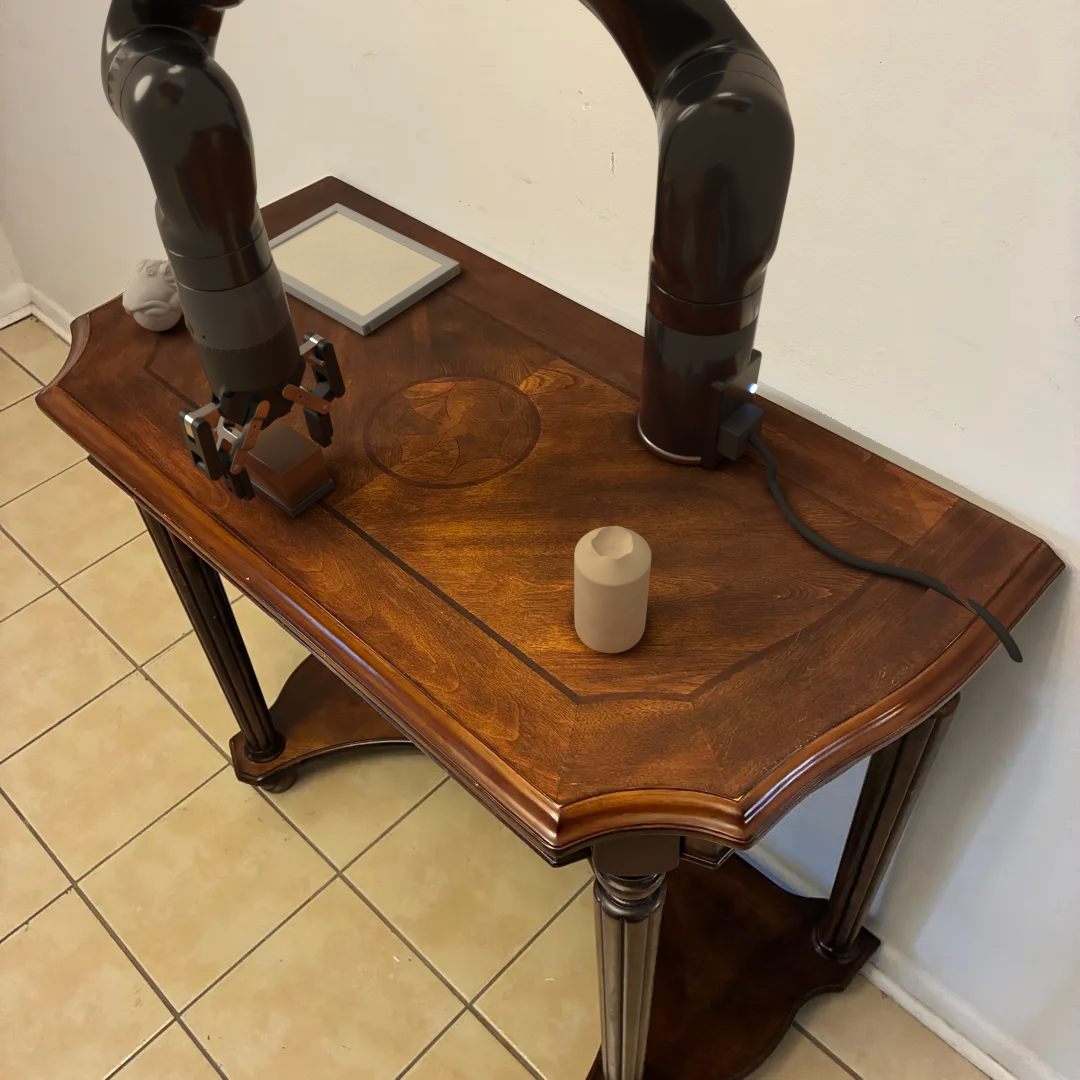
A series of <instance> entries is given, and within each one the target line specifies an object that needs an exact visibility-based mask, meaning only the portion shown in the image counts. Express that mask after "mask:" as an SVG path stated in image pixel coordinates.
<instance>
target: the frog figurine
mask: <svg viewBox="0 0 1080 1080" xmlns="http://www.w3.org/2000/svg"><path fill="white" fill-rule="evenodd" d="M135 265H136V268H134V270H133V271H132V273H131V274H130V276H129V277H128V279H127V280H126V282H125V285H124V291H123V293H122V307H123V308H124V309H125V312H126V314H127V315H129V316H132V317H133V318H134V320H135V321H136V322H137V324H139V326H141V327H143V328H145V329H146V330H150V331H154V332H163V331H167V330H169V329H172V328H173V327H174V326H175V325H176V324H178V322H179V320H180V318H181V316H182V314H183V311H182V308H181V305H180V302H179V298H178V293H177V287H176V282H175V278H174V274H173V271H172V269H171V266H170V263H169V260H165V259H164V260H163V259H149V258H142V259H139V260H138V261H137V262H136V264H135Z"/></svg>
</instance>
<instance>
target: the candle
mask: <svg viewBox="0 0 1080 1080" xmlns="http://www.w3.org/2000/svg"><path fill="white" fill-rule="evenodd" d="M573 553H574V555H573V556H574V557H573V563H574V565H573V568H574V569H573V573H574V574H573V578H574V579H573V581H574V582H573V584H574V586H573V588H574V589H573V592H574V593H573V597H574V598H573V599H574V600H573V601H574V604H573V605H574V606H573V608H574V609H573V610H574V614H573V615H574V619H573V620H574V628H575V632H576V634H577V636H578V638H579V639H580V641H581V642H582V643H583V644H584V645H585V646H587V647H588V648H590V649H591V650H594V651H595V652H598V653H605V654H618V653H622V652H626V651H628V650H630V649H631V648H633V647H634V646H635V645H637V644H638V643H639V641H641V639H642V637H643V635H644V632H645V630H646V629H645V628H646V622H647V611H648V600H649V590H650V581H651V580H650V578H651V567H652V551H651V547H650V545H649V544H648V542H647V541H646V540H645V539H644V537H643V536H641V535H640V534H639V533H638V532H635V531H634V530H632V529H629V528H626V527H622V526H620V525H613V526H612V525H611V526H602V527H598V528H595V529H593V530H591V531H589V532H587V533H585V534H584V535H583V536H582V537H580V539H579V540H578V542H577V543H576V546H575V549H574V552H573Z"/></svg>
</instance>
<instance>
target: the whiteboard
mask: <svg viewBox="0 0 1080 1080" xmlns="http://www.w3.org/2000/svg"><path fill="white" fill-rule="evenodd" d="M268 241H269V245H270V248H271V253H272V256H273V259H274V262H275V264H276V266H277V269H278V271H279V273H280V276H281V279H282V282H283V286H284V289H285V293H288V294H290V295H291V296H293V297H294V298H297V300H298V299H299V301H302V302H304V303H305V304H307V305H309V306H311V307H312V308H314V309H316V310H317V311H320V312H321V313H323V314H325V315H326V316H328V317H329V318H332V319H333V320H335V321H336V322H338V323H340V324H342V325H344V326H346V327H347V328H349V329H351V330H353V331H354V332H356V333H358V334H359V335H362V336H364V337H365V336H367V335H368V334H370V333H371V332H373V331H374V330H377V329H378V328H379V327H380V326H382V325H383V324H385V323H387V322H388V321H390V320H391V319H393V318H394V317H396V316H397V315H399V314H401V313H402V312H403V311H405V310H407V309H408V308H410V307H412V306H413V305H414V304H415V303H417V302H419V301H420V300H422V299H423V298H425V297H426V296H428V295H429V294H431V293H432V292H434V291H435V290H437V289H438V288H440V287H441V286H443V285H444V284H446V283H447V282H449V281H450V280H452V279H453V278H455V277H457V276H458V275H459V274H461V265H460V262H459V261H458V260H454V259H452V258H451V257H449V256H446V255H444V254H442V253H440V252H438V251H437V250H434V249H432V248H430V247H428V246H427V245H424V244H422V243H420V242H418V241H416V240H414V239H413V238H409V237H408V236H406V235H404V234H402V233H399V232H398V231H395V230H394V229H392V228H389V227H387V226H386V225H383V224H381V223H380V222H377V221H375V220H373V219H371V218H369V217H368V216H365V215H363V214H362V213H359V212H356V211H355V210H353V209H351V208H349V207H346V206H345V205H343V204H341V203H338V202H336V203H334V204H333V205H330V206H329V207H327V208H326V209H324V210H321V211H320V212H318V213H316V214H314V215H313V216H311V217H309V218H308V219H306V220H304V221H302V222H301V223H298V224H296V225H295V226H293V227H291V228H290V229H288V230H286V231H285V232H283V233H281V234H279V235H277V236H275V237H274V238H272V239H270V240H268Z"/></svg>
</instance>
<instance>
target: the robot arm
mask: <svg viewBox="0 0 1080 1080" xmlns="http://www.w3.org/2000/svg"><path fill="white" fill-rule="evenodd" d="M245 1H246V0H111V1H110V4H109V7H108V11H107V15H106V20H105V24H104V28H103V32H102V38H101V39H102V41H101V50H100V79H101V85H102V89H103V92H104V96H105V99H106V102H107V103H108V106H109V107H110V109H111V110H112V112H113V113H114V115H115V116H116V117H117V118H118V120H119V121H120V123H121V124H122V125H123V127H124V128H125V129H126V131H127V132H128V133H129V135H130V137H131V138H132V139H133V140H134V142H135V144H136V146H137V149H138V151H139V153H140V155H141V157H142V161H143V163H144V165H145V168H146V170H147V173H148V176H149V178H150V181H151V182H150V183H151V184H152V188H153V190H154V193H155V197H156V199H155V204H154V215H155V216H154V217H155V221H156V226H157V230H158V233H159V236H160V240H161V243H162V245H163V249H164V251H165V254H166V257H167V259H168V260H167V261H169V263H170V266H171V269H172V271H173V274H174V278H175V282H176V287H177V293H178V298H179V302H180V305H181V308H182V314H183V317H184V325H185V327H186V329H187V330H188V332H189V334H190V336H191V339H192V342H193V345H194V349H195V350H196V354H197V357H198V359H199V362H200V365H201V369H202V371H203V374H204V376H205V378H206V380H207V382H208V385H209V387H210V399H209V403H207V404H205V405H204V406H202V407H200V408H198V409H197V410H192V409H191V408H189V407H183V408H182V409H180V411H179V412H178V414H177V420H178V422H179V426H180V428H181V433H182V436H183V438H184V442H185V444H186V448H187V451H188V454H189V457H190V460H191V464H192V466H193V467H194V468H196V469H197V470H198V471H199V472H200V473H202V474H204V476H206V477H207V478H208V479H210V480H211V481H213V482H217V481H219V480H220V479H221V478H222V480H223V483H224V485H225V487H226V489H227V490H228V492H230V493H231V494H233V495H234V496H235V497H237V498H238V499H239V500H242V499H244V500H245V501H246V502H248V503H249V502H250V501H252V500H253V499H254V498H256V493H255V490H254V489H253V487H252V484H251V481H250V475H249V472H248V469H247V467H245V466H244V465H245V460H246V457H247V454H248V451H249V450H250V449H253V448H254V447H255V444H256V441H257V437H258V434H259V433H260V432H261V431H263V430H264V429H266V428H267V427H269V426H270V425H272V424H273V423H275V422H276V421H277V419H278V420H279V419H280V418H283V417H285V416H286V415H288V414H290V413H291V412H292V407H293V406H294V405H295V404H298V405H300V406H302V411H303V415H304V419H305V423H306V426H307V431H308V435H309V437H310V439H311V441H312V442H314V443H315V444H317V445H318V446H320V447H321V448H322V449H326V448H328V447H330V446H331V445H332V444H333V441H332V438H333V436H334V426H333V422H332V418H331V414H330V411H331V408H332V402H333V401H334V400H335V399H341V398H342V397H344V396H345V394H346V391H347V390H346V384H345V382H344V378H343V375H342V371H341V368H340V365H339V361H338V358H337V355H336V351H335V347H334V345H333V343H332V342H330V341H328V340H327V339H326V338H324V337H322V336H320V335H319V334H317V333H315V332H314V331H311V330H310V331H307V332H306V333H305V334H304V335H303V338H302V342H303V343H302V344H301V345H299V342H298V337H297V333H296V329H295V326H294V322H293V318H292V314H291V309H290V306H289V301H288V297H287V294H286V293H287V292H286V291H285V289H284V286H283V282H282V279H281V276H280V273H279V271H278V269H277V266H276V264H275V262H274V259H273V256H272V253H271V248H270V245H269V241H270V240H269V236H268V234H267V229H266V226H265V220H264V218H263V215H262V211H261V208H260V206H259V203H258V200H257V199H258V198H257V195H258V180H257V179H258V178H257V167H256V153H255V144H254V138H253V137H254V136H253V132H252V126H251V122H250V119H249V116H248V112H247V109H246V106H245V103H244V99H243V97H242V95H241V93H240V91H239V89H238V87H237V85H236V83H235V82H234V80H233V79H232V77H231V76H230V75H229V74H228V73H227V72H226V70H224V68H223V67H222V66H221V65H220V63H218V62H217V61H216V58H215V57H216V49H217V44H218V40H219V35H220V32H221V28H222V25H223V21H224V18H225V15H226V11H227V10H232V9H234V8H238V7H239V6H240V5H242V4H243V3H244V2H245ZM577 1H578V2H579V3H580V4H582V5H583V7H584V8H585V9H586V10H588V11H589V12H590V13H591V14H592V15H593V16H594V17H595V18H596V19H597V20H598V21H599V22H600V23H601V25H602V26H603V28H604V29H605V30H606V31H607V32H608V34H609V35H610V36H611V38H612V39H613V41H614V43H615V44H616V46H617V47H618V49H619V50H620V52H621V54H622V55H623V57H624V59H625V60H626V62H627V63H628V65H629V67H630V68H631V71H632V72H633V74H634V76H635V78H636V79H637V82H638V84H639V86H640V87H641V89H642V91H643V93H644V95H645V98H646V99H647V101H648V104H649V106H650V108H651V110H652V113H653V116H654V119H655V125H656V135H657V148H658V149H657V150H658V151H657V152H658V155H657V170H656V172H657V173H656V188H655V203H654V216H653V217H654V218H653V233H652V235H651V238H650V243H649V254H648V255H649V256H648V257H649V258H648V274H647V291H646V302H645V315H644V316H645V319H644V331H643V347H642V349H643V350H642V361H641V362H642V363H641V380H640V394H639V412H638V415H637V423H636V424H637V426H636V427H637V429H636V431H637V435H638V438H639V440H640V442H641V443H642V445H643V446H644V447H645V448H646V450H648V451H649V452H650V453H652V454H653V455H654V456H656V457H658V458H660V459H662V460H664V461H667V462H670V463H673V464H678V465H686V466H698V465H699V466H702V467H704V468H706V469H708V470H713V469H714V468H715V467H716V466H717V465H719V464H720V462H721V461H723V459H725V457H726V458H728V459H730V460H731V461H734V462H736V461H737V460H738V459H739V458H740V457H741V456H742V455H743V454H744V453H745V452H746V451H747V450H748V449H749V448H750V447H751V446H752V447H753V449H755V451H757V452H758V453H759V455H761V457H762V458H763V459H764V461H765V463H766V465H767V474H766V481H767V485H768V487H769V490H770V492H771V495H772V497H773V499H774V501H775V502H776V503H777V505H778V506H779V508H780V509H781V511H782V512H783V513H784V515H785V517H786V519H787V520H788V522H789V523H790V524H791V526H792V527H793V528H794V530H796V531H797V532H798V534H800V536H802V537H803V538H804V539H806V541H808V542H810V543H811V544H813V545H814V546H815V547H817V548H818V549H819V550H821V551H823V552H824V553H825V554H827V555H829V556H830V557H832V558H834V559H836V560H837V561H840V562H842V563H844V564H846V565H849V566H851V567H854V568H857V569H861V570H863V571H868V572H873V573H878V574H882V575H886V576H890V577H896V578H899V579H904V580H908V581H911V582H913V583H916V584H920V585H922V586H924V587H927V588H929V589H931V590H933V591H935V592H937V593H939V594H940V595H942V596H944V597H946V598H947V599H949V600H951V601H953V602H955V603H956V604H958V605H960V606H961V607H963V608H965V609H966V610H968V611H969V612H971V613H972V614H973V615H975V616H977V615H976V614H975V613H973V612H972V611H971V610H970V609H968V608H967V607H966V606H965V605H964V604H963V603H962V602H961V601H960V600H958V599H957V598H956V597H955V596H954V595H953V594H952V593H951V592H950V591H949V590H947V587H949V588H951V589H953V590H955V591H957V592H959V591H958V590H956V589H954V588H953V587H950V586H949V585H947V584H945V583H943V582H941V581H940V580H937V579H936V578H934V577H931V576H929V575H926V574H924V573H921V572H918V571H915V570H912V569H908V568H904V567H900V566H895V565H891V564H886V563H882V562H876V561H873V560H868V559H865V558H861V557H859V556H856V555H852V554H850V553H849V552H846V551H844V550H842V549H840V548H838V547H837V546H835V545H833V544H832V543H830V542H829V541H827V540H826V539H824V538H822V537H821V536H820V535H818V534H817V533H815V532H814V531H813V530H811V529H810V528H809V527H807V525H805V524H804V523H803V522H802V521H801V520H800V519H799V518H798V517H797V516H796V515H795V513H794V512H793V510H792V509H791V507H790V506H789V504H788V503H787V501H786V499H785V496H784V495H783V493H782V489H781V488H780V486H779V483H778V481H777V475H778V464H777V461H776V458H775V457H774V455H773V454H772V452H771V451H770V449H769V448H768V447H767V446H766V445H765V444H764V443H763V441H761V439H759V438H760V437H761V436H762V430H763V426H764V420H765V414H766V410H765V409H763V408H761V407H759V406H757V405H754V403H755V398H756V391H757V389H758V381H759V375H760V370H761V365H762V359H763V353H762V352H761V350H758V349H757V348H755V341H756V336H757V329H758V323H759V317H760V313H761V307H762V305H761V304H762V301H763V295H764V289H765V284H766V278H767V272H768V267H769V264H770V262H771V260H772V258H773V257H774V255H775V252H776V251H777V246H778V243H779V238H780V234H781V230H782V224H783V219H784V214H785V209H786V204H787V199H788V194H789V189H790V184H791V179H792V174H793V173H792V172H793V167H794V161H795V160H794V158H795V150H796V148H795V147H796V136H795V135H796V134H795V127H794V123H793V118H792V115H791V111H790V107H789V102H788V99H787V95H786V91H785V86H784V84H783V82H782V79H781V77H780V74H779V72H778V70H777V69H776V66H775V65H774V63H773V62H772V61H771V59H770V58H769V56H768V55H767V54H766V52H765V51H764V50H763V48H762V47H761V45H759V43H758V42H757V41H756V39H755V38H754V37H753V36H752V35H751V33H750V31H748V29H747V28H746V27H745V25H744V24H743V22H742V21H741V20H740V19H739V17H738V16H737V14H736V13H735V12H734V11H733V9H732V7H731V6H730V5H729V3H728V2H727V0H577ZM307 363H308V364H309V365H310V367H311V370H312V373H313V377H314V380H315V383H316V386H315V387H313V389H312V390H311V389H309V388H308V387H306V386H303V385H301V384H302V381H303V379H304V375H305V372H306V368H307ZM218 419H219V420H218ZM217 421H218V423H217ZM236 425H238V426H241V427H243V429H242V432H241V431H240V430H238V429H237V427H236ZM216 436H218V437H217V441H216V440H215V437H216ZM231 449H232V450H231ZM230 452H231V453H230ZM963 598H964V597H963ZM969 598H970V597H968V599H967V598H966V599H967V600H968V602H969V603H968V604H970V606H971V607H972V608H973V609H975V611H976V612H978V614H979V616H981V618H982V619H983V620H984V621H985V622H986V623H987V624H988V625H987V624H986V623H985V622H984V621H983V620H982V619H981V618H979V619H980V620H982V621H983V622H984V623H985V624H986V625H987V626H988V627H989V628H990V629H991V630H992V632H994V634H995V635H996V636H997V638H998V639H999V640H1000V642H1001V643H1002V645H1003V646H1004V649H1005V650H1006V652H1007V654H1008V655H1009V658H1010V659H1011V660H1012V661H1013V662H1015V663H1019V664H1021V663H1023V661H1024V659H1023V655H1022V653H1021V650H1020V649H1019V647H1018V645H1017V643H1016V640H1014V638H1013V636H1012V635H1011V633H1010V632H1009V631H1008V629H1007V628H1006V627H1005V626H1004V625H1003V623H1002V622H1001V621H1000V620H999V619H998V618H997V617H996V616H995V615H994V614H993V613H991V612H990V611H989V610H988V609H987V608H985V607H984V606H982V605H981V604H979V603H977V601H975V600H974V599H972V598H970V599H969ZM966 599H965V600H966ZM971 599H972V600H971ZM974 601H975V602H974ZM966 602H967V601H966Z"/></svg>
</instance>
